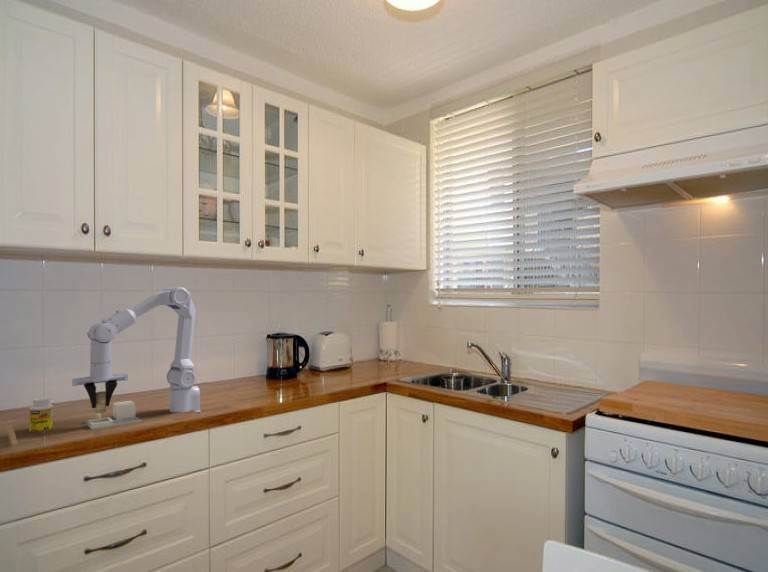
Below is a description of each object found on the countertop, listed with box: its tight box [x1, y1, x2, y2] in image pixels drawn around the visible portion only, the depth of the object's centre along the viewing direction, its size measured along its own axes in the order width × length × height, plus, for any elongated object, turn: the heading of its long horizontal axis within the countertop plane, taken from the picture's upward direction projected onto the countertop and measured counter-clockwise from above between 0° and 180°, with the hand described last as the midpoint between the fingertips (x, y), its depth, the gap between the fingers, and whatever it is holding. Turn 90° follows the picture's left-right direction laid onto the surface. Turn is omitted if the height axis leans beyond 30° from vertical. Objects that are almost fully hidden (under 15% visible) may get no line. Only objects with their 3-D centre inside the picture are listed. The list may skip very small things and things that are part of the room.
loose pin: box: [94, 390, 107, 414], centre depth 141 cm, size 3×3×6 cm
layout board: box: [83, 410, 143, 431], centre depth 145 cm, size 14×13×4 cm
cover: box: [112, 400, 136, 420], centre depth 151 cm, size 5×5×4 cm
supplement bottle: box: [28, 397, 54, 433], centre depth 137 cm, size 6×6×10 cm
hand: (100, 406), depth 141 cm, fingers closed on loose pin, 3 cm apart
